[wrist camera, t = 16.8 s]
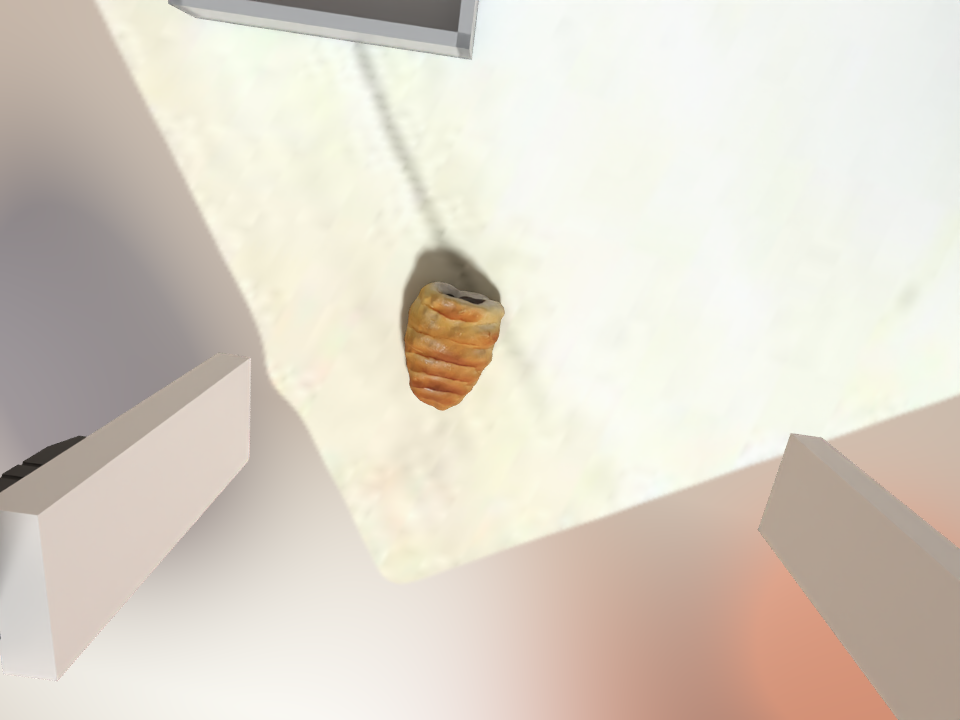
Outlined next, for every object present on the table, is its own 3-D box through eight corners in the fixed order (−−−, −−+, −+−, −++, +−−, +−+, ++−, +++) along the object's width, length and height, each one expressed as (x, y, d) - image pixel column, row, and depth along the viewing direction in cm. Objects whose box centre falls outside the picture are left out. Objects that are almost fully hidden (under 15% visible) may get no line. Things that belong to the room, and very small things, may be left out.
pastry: (476, 410, 45) (473, 430, 41) (393, 388, 45) (383, 407, 41) (507, 297, 42) (508, 308, 38) (419, 273, 42) (411, 283, 38)
